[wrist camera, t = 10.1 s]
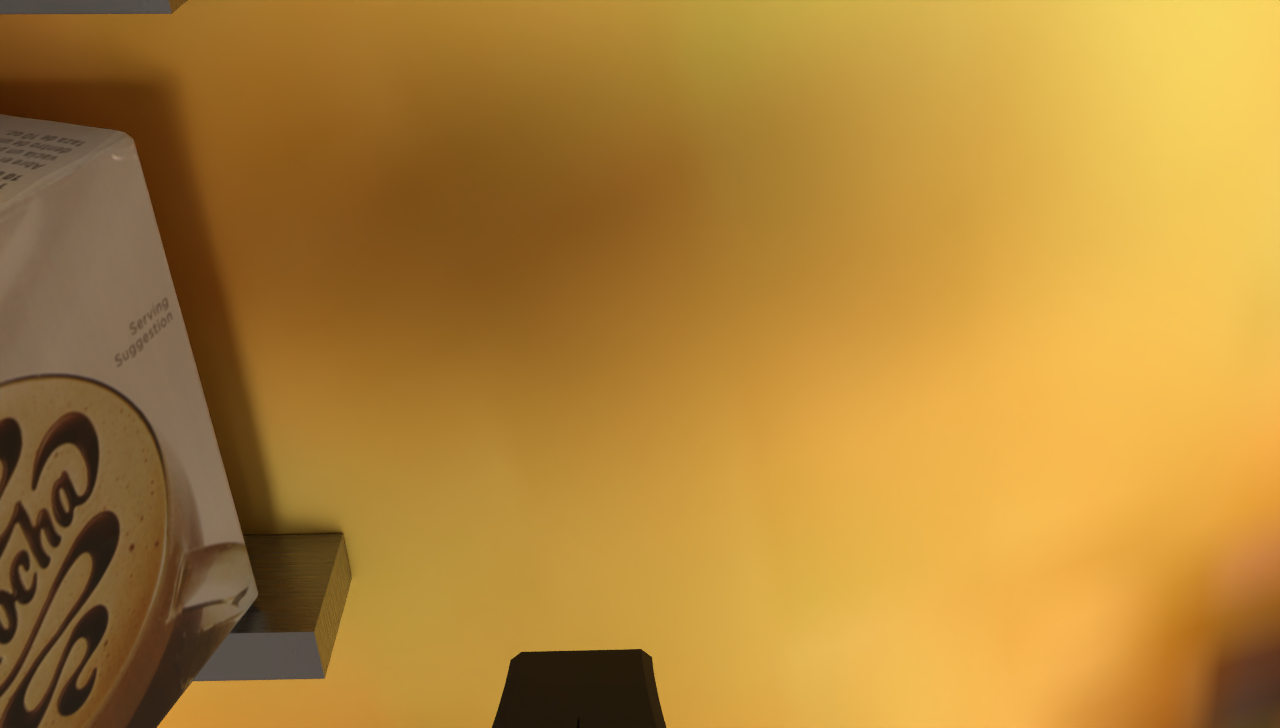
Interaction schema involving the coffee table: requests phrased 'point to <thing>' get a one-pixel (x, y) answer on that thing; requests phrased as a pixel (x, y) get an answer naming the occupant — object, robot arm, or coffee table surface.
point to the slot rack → (282, 564)
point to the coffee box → (101, 448)
